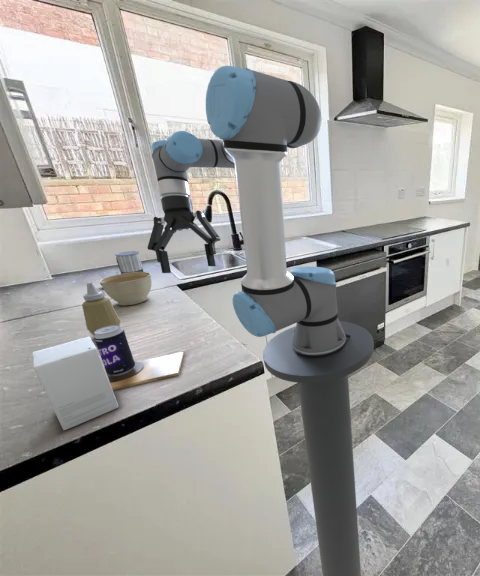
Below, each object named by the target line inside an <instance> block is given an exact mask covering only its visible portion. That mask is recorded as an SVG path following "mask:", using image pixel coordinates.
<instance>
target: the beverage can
mask: <svg viewBox="0 0 480 576" xmlns="http://www.w3.org/2000/svg"><path fill="white" fill-rule="evenodd" d="M94 333H95V335H94V336H93V340H94V342H95V343H94V344H95V346H96V348H97V351H98V353H99V356H100V358H101V361H102V363H103V366H104V368H105V370H106V372H107V374H109V375H113V376H119V375H123V374H126V373H128V372H129V371H131V370H132V368H133V367H134V366H135V362H136V361H135V359H134V357H133V353H132V350H131V347H130V344H129V341H128V338H127V336H126V332H125V330H124V328H122V326H121V324H120V325H110V326H105V327H102V328H100V329H98V330H96V331H95V332H94Z"/></svg>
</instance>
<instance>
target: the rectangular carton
mask: <svg viewBox="0 0 480 576" xmlns="http://www.w3.org/2000/svg"><path fill="white" fill-rule="evenodd" d="M32 359H33V371H34V372H35V374H36V376H37V378H38V380H39V382H40V384H41V386H42V388H43V390H44V392H45V395H46V397H47V398H48V399H47V400H48V401H49V403H50V405H51V407H52V409H53V411H54V414H55V416H56V418H57V420H58V422H59V424H60V426H61V428H62V430H63V431H66V430H70V429H71V428H73V427H76V426H78V425H82V424H83V423H85V422H88V421H90V420H92V419H96V418H97V417H100V416H103V415H105V414H106V413H109V412H111V411H113V410H116V409H118V408H119V403H118V401H117V398H116V395H115V393H114V390H112V387H111V384H110V382H109V379H108V376H107V374H106V371H105V369H104V368H105V367H104V364H103V361H102V359H101V356H100V353H99V351H98V348H97V345H96V344H95V343H94V341H93V340H92V339H91V337H90V336H89V335H88V336H85V337H81V338H77V339H75V340H71V341H68V342H63V343H61V344H56V345H53V346H50V347H46V348H43V349H39V350H36V351H32Z"/></svg>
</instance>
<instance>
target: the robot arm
mask: <svg viewBox="0 0 480 576" xmlns="http://www.w3.org/2000/svg"><path fill="white" fill-rule="evenodd" d="M205 116H206V120H207V121H206V122H207V124H208V125H209V129H210V131H211V133H212V134H213V135H214V136H215V137H216V138H219V139H209V138H198V137H197V136H196V135H194V134H192V133H190V132H188V131H186V130H177V131H175V132H173V133H172V134H171V135H170V136H168V137H167V139H161V140H157V141H154V142H153V143H151V158H152V161H153V166H154V170H155V175H156V181H157V186H158V192H159V197H161V198H160V201H161V202H160V203H161V208H162V212H163V214H164V216H163V217H160V216H159V217H158V216H154V217H153V227H152V231H151V233H150V237H149V241H148V244H147V250H149V251H152V252H153V251H154V252H155V255H156V260H157V263H160V270H161V273H162V274H171V273H172V270H171V265H170V260H169V255H168V254H169V253H168V251H167V250H165V249H166V248H167V246H168V244H169V242H170V241H171V239H172V237H173V236H174V234H175V233H176V232H177V231H183V230H191V231H193V232H194V233H195V234H196V235H197V236H198V237H200V238H201V240H203V241H204V242H205V243H204V244H203V245H204V251H205V256H206V262H207V267H216V266H217V265H216V260H215V259H216V258H215V255H217V251H216V243H217V242H220V241H221V237H220V236H219V234H218V233H217V231H216V230H215V229H214V227H213V226H212V224H211V223H210V222H209V220H208V219H207V216H206V213H205V212H204V211H201V210H199V209H198V210H196V211H195V212H194V206H193V201H192V198H191V191H190V185H189V179H188V173H187V171H188V170H189V169H190V168H219V169H220V168H221V169H222V168H223V169H224V168H225V169H235V179H236V187H237V196H238V204H239V212H240V213H239V214H240V222H241V230H242V240H243V247H244V256H245V266H246V273H245V275H243V277H242V278H241V279H240V286H241V290H239V291H237V292H235V293H234V294H233V295H232V296H233V297H232V307H233V310H234V313H235V315H236V317H237V319H238V320H239V322H240V324H241V325H242V326H243V328H244V329H245V330H246V331H247V332H248V333H249V334H250V335H252V336H254V337H257V338H262V337H266V336H269V335H271V334H276V332H278V331H281V330H283V329H286V328H288V327H290V326H292V325H295V324H296V325H295V326H296V328H295V330H294V337H293V350H294V352H295V353H297V354H298V355H300V356H303V357H308V358H319V357H326V356H329V355H332V354H335V353H337V352H339V351H340V350H341V349H343V347H344V346H345V344H346V337H347V338H350V335H348V334H345V333H344V330H343V328H342V326H341V324H340V319H339V312H338V311H339V309H338V297H337V294H338V293H337V282H336V275H335V273H334V271H333V270H332V269H330V268H327V267H321V266H298V267H293V268H292V269H291V270H290V272H289V271H288V268H287V254H286V253H287V251H286V238H285V237H286V236H285V219H284V218H285V217H284V202H283V188H282V171H281V161H282V160H283V159H284V158H285V157H286V156H288V149H297V148H300V147H303V146H305V145H307V144H310V143H311V142H312V141H314V140H315V139H316V138H317V136H318V134H319V132H320V130H321V126H322V112H321V109H320V105H319V102H318V101H317V100H316V97H315V96H314V95H313V94H312V92H311V91H309V90H308V88H307V87H305V86H303V85H302V84H300V83H298V82H295V81H292V80H287V79H283V78H280V77H276V76H273V75H271V74H267V73H263V72H260V71H256V70H253V69H251V68H247V67H246V68H245V67H237V66H232V65H222V66H220V67H218V68H217V69H216V70H215V71H214V72H213V73H212V74H211V77H210V79H209V82H208V84H207V88H206V93H205ZM196 219H197V221H199V223H200V224H201V226H202V227H203V228H204V230H205V231H206V232H205V231H204V230H203V229H202V228H201V227H199V225H197V224H196V222H194V221H195V220H196Z"/></svg>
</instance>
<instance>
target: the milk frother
mask: <svg viewBox="0 0 480 576" xmlns="http://www.w3.org/2000/svg"><path fill="white" fill-rule="evenodd" d="M139 253H140V252H139V251H136V250H132V251H122V252H117V253H115V254H114V256H116V257H115V259H116V260H115V261H116V264H117V267H118V268H119V271H120V274H124V273H131V272H144V268H143V264H142V261H141V257H140V254H139ZM99 284H100V286H102V285H101V283H100V282H99Z"/></svg>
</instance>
